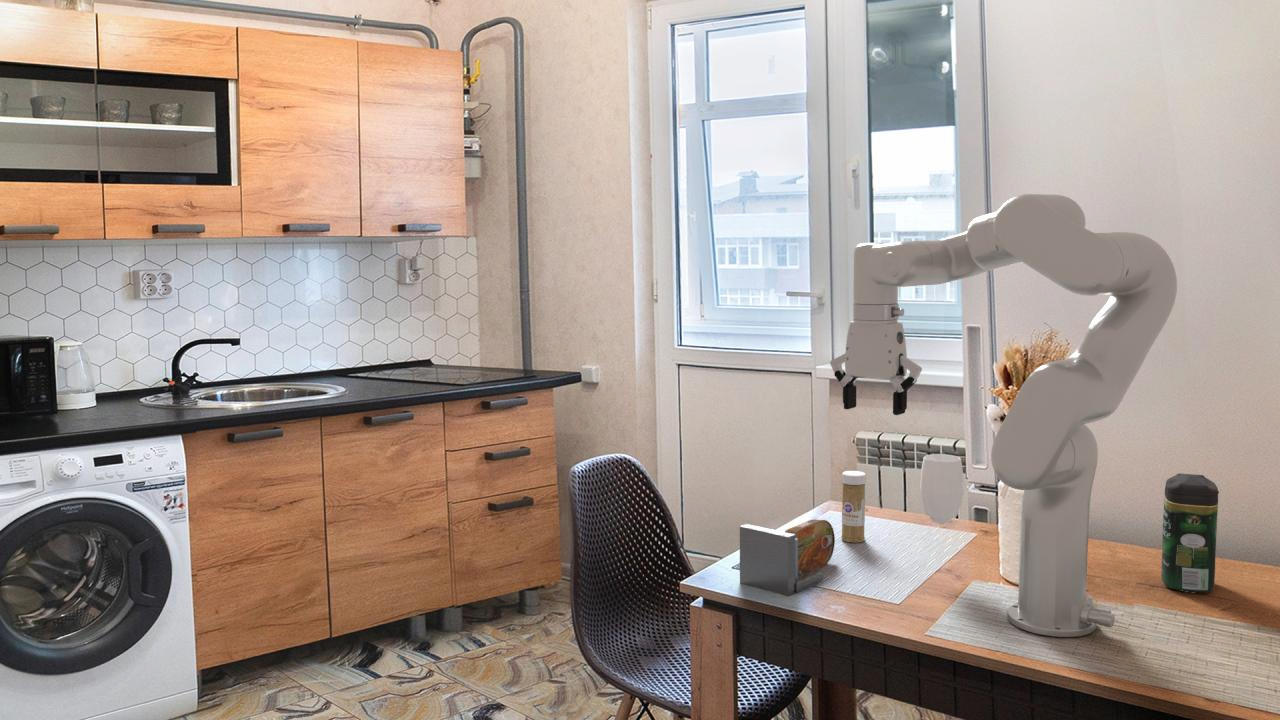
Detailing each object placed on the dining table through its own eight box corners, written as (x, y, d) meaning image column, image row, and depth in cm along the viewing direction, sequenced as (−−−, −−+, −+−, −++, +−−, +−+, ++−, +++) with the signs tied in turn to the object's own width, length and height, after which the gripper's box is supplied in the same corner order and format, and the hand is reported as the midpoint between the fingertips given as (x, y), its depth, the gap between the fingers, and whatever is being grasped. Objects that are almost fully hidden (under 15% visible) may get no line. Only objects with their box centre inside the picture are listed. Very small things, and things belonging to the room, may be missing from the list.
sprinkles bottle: (838, 541, 197) (839, 474, 196) (845, 535, 201) (845, 469, 200) (861, 544, 195) (862, 476, 194) (868, 538, 199) (868, 471, 198)
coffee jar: (1158, 573, 176) (1163, 468, 174) (1211, 579, 173) (1216, 472, 171) (1161, 591, 168) (1166, 481, 165) (1216, 597, 164) (1222, 485, 162)
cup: (961, 582, 173) (963, 463, 171) (917, 578, 176) (919, 461, 173) (962, 569, 180) (964, 454, 178) (919, 566, 182) (921, 452, 180)
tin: (789, 582, 175) (789, 534, 174) (774, 578, 177) (774, 531, 176) (836, 561, 186) (836, 516, 185) (821, 557, 188) (821, 513, 187)
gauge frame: (822, 580, 175) (823, 524, 174) (789, 596, 168) (790, 537, 167) (772, 568, 182) (772, 513, 181) (738, 582, 175) (738, 525, 174)
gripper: (931, 314, 174) (929, 413, 176) (843, 310, 185) (842, 403, 187) (910, 317, 168) (908, 419, 170) (820, 313, 180) (820, 409, 182)
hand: (874, 411), depth 179 cm, fingers open, 9 cm apart
